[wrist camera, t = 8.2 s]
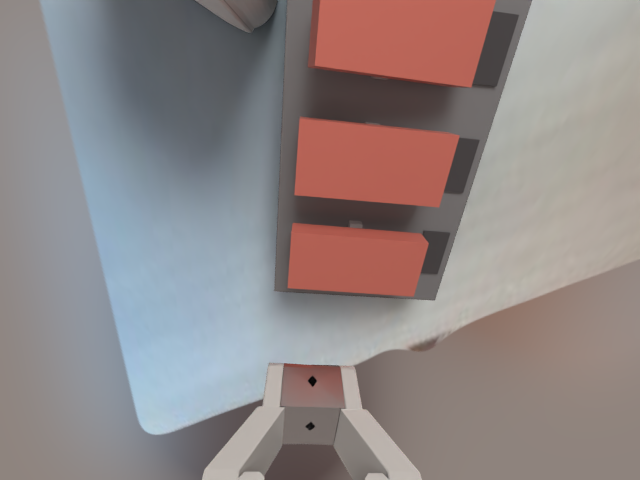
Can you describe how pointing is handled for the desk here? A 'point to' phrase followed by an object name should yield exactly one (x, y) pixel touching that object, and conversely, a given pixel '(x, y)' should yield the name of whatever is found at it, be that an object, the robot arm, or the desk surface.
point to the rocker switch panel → (398, 111)
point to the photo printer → (242, 11)
